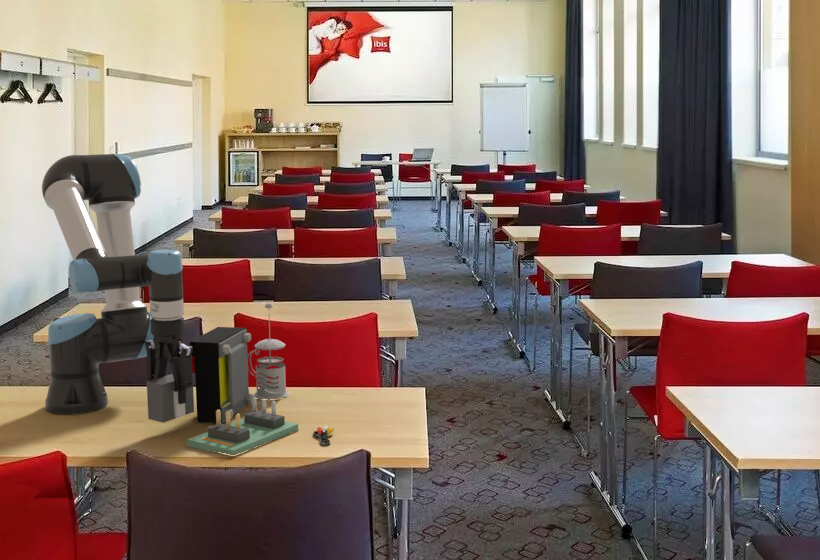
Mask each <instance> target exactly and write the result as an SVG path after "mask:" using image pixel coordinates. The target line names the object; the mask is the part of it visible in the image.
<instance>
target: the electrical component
mask: <svg viewBox="0 0 820 560" xmlns="http://www.w3.org/2000/svg"><path fill="white" fill-rule="evenodd" d="M247 331H248V330H247V328H245V327H234V326H233V327H231V326H230V327H229V326H228V327H227V326H224V327H223V326H217V327H214V329H212V330H210V331H207V332H206V333H204V334H202V335H201V336H200V335H199V337H197V338H194V339H192V340H191V341H190V342H189V346H192V347H193V351H192V356H191V358H192V374H194V376H195V377H194V380H195V381H194V382H195V397H196V399H195V400H196V401H195V402H196V421H197V423H198V424H199V423H200V424H215V425H216V410H220V413H221V424H224V423H226V412H230V420H231V419H232V418H233V417H234V416H235V415H236V414H238V412H239V410H243V408H245V407H246V406H247V405H248V404H250V403H251V404H252V398H253V395H254V394H252V393H251V394H250V391H249V370H248V368H249V363H248V362H249V359H248V360H247V357H248V343H249V342H250V341H251V340H252V334H251V333H250V332H247ZM235 413H236V414H235Z"/></svg>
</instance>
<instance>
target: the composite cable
mask: <svg viewBox="0 0 820 560" xmlns="http://www.w3.org/2000/svg"><path fill="white" fill-rule="evenodd" d="M334 429H335V428H334V426H330V427H329V424H325V425H324V426H323V428H322V427H321V426H318V427H317V429H316V430H314V431H313V432H312V437H315V438H316V439H317V440H319V439H320V440H319V445H320V446H322V447H328V446H329V447H330V446H331V440H330V439H328V435H330V434H332V433H333V432H334ZM317 434H319V435H317Z"/></svg>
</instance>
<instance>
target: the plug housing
mask: <svg viewBox="0 0 820 560" xmlns="http://www.w3.org/2000/svg"><path fill="white" fill-rule="evenodd" d="M192 378H193V379H194V375H193V374H192ZM180 385H181V384H180ZM174 389H176V387H175V382H174V378H173V373H171V374H166V375H165V376H163V377H160V378H157V379H153V380H150V381H148V380H147V381H146V395H147V399H146V400H147V415H148V417H147V418H148V420H151V421H155V422H159V423H162V424H164V423H167V422H170V421H172V420H176V419H177V418H175V417H174V392H173V391H174ZM194 397H195V396H194V385H193V386H192V387H190V388H187V389H186V403H185V416H187V415H190V414H192V413H195V400H194V399H195V398H194Z"/></svg>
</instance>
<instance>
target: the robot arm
mask: <svg viewBox="0 0 820 560" xmlns="http://www.w3.org/2000/svg"><path fill="white" fill-rule="evenodd" d="M140 177H141V176H140V172H139V170H138V167H137V164H136V163H135V161H134V160H133V158H131V156H129V155H127V154H114V153H111V154H110V153H109V154H108V153H107V154H102V153H101V154H81V155H80V154H71V155H66V156H64V157H61V158H60V159H58V160H57V161H55V162H54V163H52V165H51V166H50V167H49V168H48V169H47V170H46V173H45V175H44V176H43V180H42V184H41V185H42V186H41V192H42V197H43V200H44V202H45V204H46V206H47V207H48V208H49V209H51V210H53V213H54V216H55V217H56V221H57V223H58V225H59V228H60V230H61V233H62V235H63V238H64V240H65V242H66V245H67V247H68V250H69V253H70V255H71V257H72V261H70V263H69V266H68V277H69V282H70V284H69V285H70V286H71V289H72V290H73V291H74V292H77V293H85V292H89V293H94V292H99V291H100V292H101V291H104V295H105V306H104V307H103V308H102V309H101V311H100V314H101V317H100V318H99V317H98V318H97V316H96V315H95V314H94V313H90V312H85V313H75V314H70V315H66V316H63V317H59V318H57V319H55V320H53V321H52V322H51V323H50V324H49V326H48V331H47V336H48V337H47V344H48V352H49V367H50V382H49V385H48V390H47V396H46V398H45V400H44V401H45V411H46V412H48V413H50V414H51V413H52V414H54V415H55V414H56V415H78V414H86V413H90V412H95V411H98V410H101V409H103V408H106V406H107V405H109V399H108V398H109V397H108V394H107V392H106V389H105V385H104V383H103V381H102V379H101V376H100V369H99V365H100V364H106V363H113V362H121V361H122V362H123V361H128V360H137V359H141V358H145V357H146V371H147V372H146V375H147V376H146V377H147V381H150V380H153V379H157V378H160V377H163V376H166V375H167V367H168V363H169V364H170V368H171V372H172V373H171V374H173V378H174V382H175V387H176V389H174V391H173V392H174V417H175V418H176V419H178V418H182V417H184V416H186V415H185V403H186V389H187V388H190V387H192V386H193V387H194V380H193V379H194V377H193V378H192V375H193V373H192V358H191V357H192V351H193V347H192V346H190V345H189V346H188V345H186V344H185V342H184V340H183V334H184V333H185V319H184V317H183V316H184V314H185V308H184V307H185V306H184V284H183V269H184V268H183V267H184V265H183V262H182V261H183V260H182V254H181V252H180V251H179V250H177V249H167V248H165V249H163V248H162V249H154V250H151V251H149V252H147V251H144V252H143V251H142V252H139V253H137V254H136V252H135V244H134V235H133V227H132V218H131V217H132V216H131V210H132V208H133V207H134V206H135V205H136V202H135V200H136V199H137V198H139V197H140V196H141V193H142V192H141V191H142V189H141V186H142V185H141V184H142V182H141V178H140ZM85 201H87V202H88V208H89V209H90V210H92V211H93V212H94V213H95V215H96V216H95V217H96V224H97V229H96V226H95V224H94V221H93V219H92V217H91V215H90V212H89V209H88V208H87V204H86V202H85ZM140 287H142V288H143V287H148V294H149V311H148V307H147V305H146V304H145V303H144V302H142V301H141V297H140V296H141V295H140ZM180 384H181V385H180Z"/></svg>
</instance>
